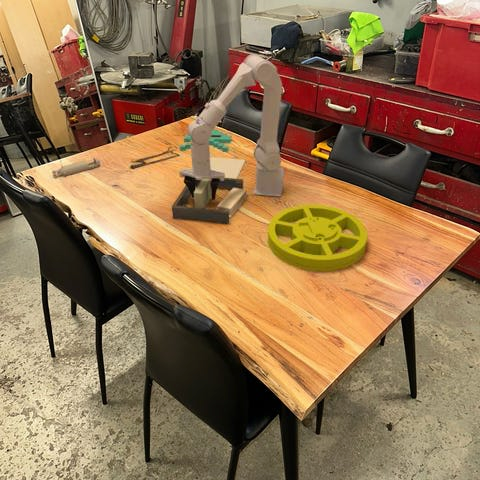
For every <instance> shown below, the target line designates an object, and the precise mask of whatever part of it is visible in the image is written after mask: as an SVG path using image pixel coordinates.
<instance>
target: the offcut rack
mask: <svg viewBox="0 0 480 480" xmlns="http://www.w3.org/2000/svg"><path fill="white" fill-rule="evenodd" d="M200 182H201V180H196V178H195V189H196V188H197V187H198V185H199V183H200ZM233 188H238V189H244V179H243V178H237V179H235V178H225V179H224V181H220V182H219V185H218V188H217V190H226V191H231V190H232V189H233ZM190 197H191V193H190V191H189V189H188V187H187V186H186V185H185V186H184V188H183V189H182V190H181V191H180V194H179V195H178V197H177V198H176V199H175V201H174V202H173V204H172V205H171V210H172V211H171V212H172V219H177V220H186V221H187V220H188V221H196V222H197V221H198V222H205V223H206V222H207V223H213V224H214V223H215V224H225V225H226V224H227V225H229V223H230V219H229V211H224V210H217V209H213V208H205V209H204V208H195V206H194V207H193V206H185V205H186V204H187V202H188V201H189V199H190Z"/></svg>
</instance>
